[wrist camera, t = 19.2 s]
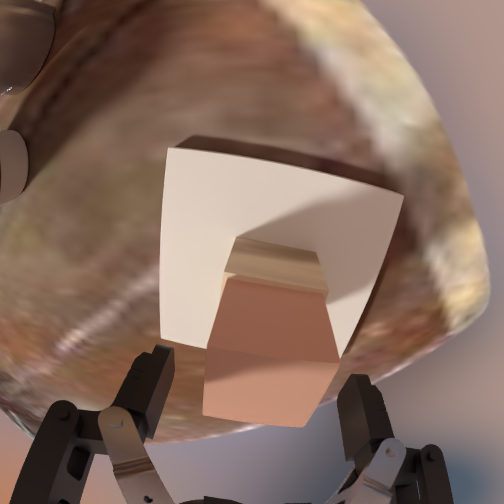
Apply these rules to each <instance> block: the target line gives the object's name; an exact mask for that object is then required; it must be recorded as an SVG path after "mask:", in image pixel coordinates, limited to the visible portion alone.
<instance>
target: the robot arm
mask: <svg viewBox="0 0 504 504" xmlns="http://www.w3.org/2000/svg"><path fill="white" fill-rule="evenodd" d="M54 10H55V7H53V6H50V5H48V4H45V3H42V2H39V1H36V0H0V96H1V95H13V94H17V93H19V92H21V91H22V90H24V89H25V88H26V87H27V86H28V85H29V84H30V83H31V82H32V81H33V79H34V78H35V76H36V75H37V74H38V72H39V70H40V69H41V67H42V65H43V63H44V61H45V59H46V57H47V55H48V53H49V50H50V47H51V45H52V41H53V38H54V31H55V22H54V19H53V12H54ZM174 371H175V365H174V348H173V347H169V346H165V345H161V344H156V346H155V348H154V350H153V352H152V354H150V353H146V352H143V353H142V354H140V355H139V356H138V357H137V358H135V360H134V362H133V364H132V366H131V369H130V370H129V372H128V374H127V377H126V378H125V380H124V382H123V384H122V386H121V388H120V390H119V392H118V394H117V396H116V398H115V400H114V402H113V403H112V405H111V406H110V407H107V408H105V409H104V410H102V411H88V410H80V409H77V408H76V406H75V405H74V404H73V403H71V402H69V401H66V400H60V401H56V402H55V403H53V404H52V405H51V406H50V408H49V410H48V412H47V414H46V416H45V418H44V420H43V422H42V424H41V426H40V428H39V430H38V432H37V434H36V437H35V439H34V441H33V443H32V446H31V448H30V450H29V452H28V455H27V457H26V459H25V462H24V464H23V467H22V469H21V472H20V474H19V477H18V480H17V482H16V485H15V488H14V491H13V494H12V497H11V500H10V503H9V504H80V500H81V497H82V493H83V489H84V486H85V483H86V480H87V476H88V473H89V470H90V467H91V464H92V461H93V458H94V455H95V454H104V455H109V457H110V460H111V462H112V465H113V469H114V470H113V472H114V475H115V478H116V480H117V483H118V485H119V487H120V489H121V492H122V494H123V496H124V498H125V500H126V502H127V504H175V503H174V502H173V500H172V498H171V497H170V495H169V493H168V491H167V490H166V488H165V486H164V484H163V482H162V481H161V479H160V477H159V475H158V473H157V471H156V469H155V467H154V465H153V464H152V462H151V460H150V458H149V456H148V454H147V452H146V450H145V447H144V445H143V444H144V441H145V439H146V437H147V438H150V439H153V437H154V434H155V431H156V428H157V425H158V422H159V419H160V416H161V413H162V410H163V407H164V404H165V401H166V398H167V396H168V393H169V390H170V387H171V384H172V381H173V378H174ZM337 407H338V413H339V419H340V424H341V431H342V438H343V445H344V451H345V458H346V461H354V462H355V465H354V466H353V467H352V469H351V470H350V472H349V473H348V475H347V476H346V478H345V480H344V481H343V482H342V484H341V485H340V487H339V488H338V489H337V491H336V492H335V494H334V495H333V496H332V497H331V498H330V499H329V500H328V501H326V502H325V503H324V504H388V503H389V502H390V503H391V504H454V503H453V498H452V492H451V487H450V482H449V478H448V473H447V469H446V465H445V461H444V457H443V453H442V451H441V449H440V448H439V447H438V446H436V445H433V444H429V445H426V446H425V447H424V448H422V449H421V450H419V449H413V448H407V447H405V445H404V444H403V443H402V442H401V441H400V440H398V439H396V438H395V437H394V435H393V431H392V428H391V424H390V420H389V417H388V413H387V411H386V407H385V404H384V400H383V397H382V394H381V392H380V391H379V390H378V388H377V387H376V386H375V385H371V382H370V379H369V376H368V375H366V374H351V375H350V376H349V378H348V380H347V381H346V383H345V384H344V386H343V388H342V389H341V391H340V392H339V394H338V398H337ZM416 481H418V487H419V492H420V500H419V494H418V488H417V482H416ZM180 504H242V503H239V502H236V501H233V500H227V499H220V498H214V497H208V496H204V499H203V500H191V501H186V502H183V503H180ZM286 504H290V503H286ZM291 504H292V503H291ZM293 504H311V503H293Z"/></svg>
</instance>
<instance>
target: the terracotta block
mask: <svg viewBox="0 0 504 504" xmlns="http://www.w3.org/2000/svg"><path fill="white" fill-rule="evenodd" d="M340 364H341V362H340V357H339V353H338V349H337V345H336V341H335V337H334V333H333V330H332V326H331V322H330V318H329V314H328V311H327V307H326V303H325V300H324V296H323V294H321V293H314V292H307V291H301V290H294V289H288V288H282V287H276V286H269V285H263V284H257V283H252V282H246V281H240V280H234V279H229V278H227V280H226V284H225V287H224V290H223V293H222V297H221V300H220V303H219V307H218V310H217V313H216V317H215V320H214V323H213V327H212V330H211V333H210V337H209V340H208V343H207V351H206V365H205V380H204V398H203V415H206V416H211V417H217V418H222V419H228V420H235V421H241V422H249V423H257V424H266V425H277V426H289V427H304V426H305V424H306V423H307V421H308V420H309V418H310V417H311V415H312V413H313V412H314V410H315V408H316V407H317V405H318V404H319V402H320V400H321V398H322V397H323V395H324V393H325V392H326V390H327V388H328V386H329V385H330V383H331V381H332V379H333V377H334V375H335V374H336V372H337V370H338V368H339V366H340Z"/></svg>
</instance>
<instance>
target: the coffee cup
mask: <svg viewBox="0 0 504 504" xmlns="http://www.w3.org/2000/svg"><path fill="white" fill-rule="evenodd" d="M27 175H28V152H27V148H26V145H25V142H24V140H23V138H22V136H21V135H20V134H19V133H18V132H16V131H13V130H5V131H0V206H2V205H4V204H6V203H8V202H9V201H11V200H13V199H15V198H16V197H18V196H19V195H20V194H21V192H22V191H23V189H24V186H25V184H26V180H27Z"/></svg>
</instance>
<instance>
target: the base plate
mask: <svg viewBox="0 0 504 504" xmlns="http://www.w3.org/2000/svg"><path fill="white" fill-rule="evenodd" d="M403 199H404V196H403V195H401V194H399V193H397V192H394V191H391V190H387V189H384V188H381V187H378V186H374V185H371V184H367V183H364V182H360V181H357V180H353V179H349V178H345V177H342V176H338V175H334V174H330V173H326V172H322V171H317V170H313V169H309V168H304V167H300V166H295V165H290V164H285V163H280V162H275V161H270V160H265V159H259V158H254V157H248V156H242V155H235V154H229V153H222V152H215V151H207V150H199V149H191V148H182V147H169V148H168V153H167V161H166V171H165V181H164V192H163V205H162V221H161V242H160V326H161V338H163V339H166V340H170V341H174V342H178V343H183V344H187V345H191V346H196V347H200V348H205V349H207V343H208V340H209V337H210V333H211V330H212V327H213V323H214V320H215V317H216V313H217V310H218V307H219V302H220V295H221V287H222V280H223V273H224V270H225V267H226V264H227V261H228V258H229V255H230V252H231V249H232V247H233V244H234V241H235V238H236V237H240V238H245V239H251V240H256V241H261V242H266V243H272V244H277V245H282V246H287V247H292V248H297V249H303V250H308V251H313V252H316V253H317V256H318V259H319V262H320V265H321V268H322V271H323V274H324V277H325V280H326V283H327V286H328V289H329V293H328V296H327V298H326V301H325V303H326V307H327V311H328V314H329V318H330V322H331V326H332V330H333V333H334V337H335V341H336V345H337V349H338V353H339V357H340V358H341V356H342V354H343V352H344V350H345V348H346V346H347V344H348V342H349V340H350V338H351V336H352V334H353V332H354V329H355V327H356V325H357V323H358V321H359V319H360V317H361V314H362V312H363V310H364V308H365V305H366V303H367V301H368V298H369V296H370V294H371V291H372V289H373V286H374V284H375V281H376V279H377V276H378V274H379V271H380V269H381V266H382V263H383V261H384V258H385V255H386V252H387V250H388V247H389V244H390V241H391V238H392V235H393V232H394V229H395V226H396V223H397V219H398V216H399V213H400V210H401V206H402V203H403Z"/></svg>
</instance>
